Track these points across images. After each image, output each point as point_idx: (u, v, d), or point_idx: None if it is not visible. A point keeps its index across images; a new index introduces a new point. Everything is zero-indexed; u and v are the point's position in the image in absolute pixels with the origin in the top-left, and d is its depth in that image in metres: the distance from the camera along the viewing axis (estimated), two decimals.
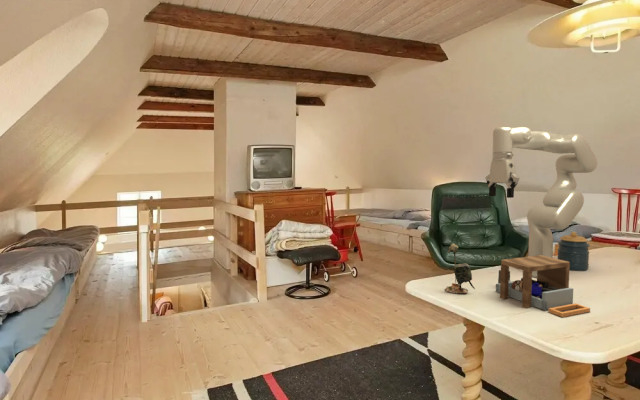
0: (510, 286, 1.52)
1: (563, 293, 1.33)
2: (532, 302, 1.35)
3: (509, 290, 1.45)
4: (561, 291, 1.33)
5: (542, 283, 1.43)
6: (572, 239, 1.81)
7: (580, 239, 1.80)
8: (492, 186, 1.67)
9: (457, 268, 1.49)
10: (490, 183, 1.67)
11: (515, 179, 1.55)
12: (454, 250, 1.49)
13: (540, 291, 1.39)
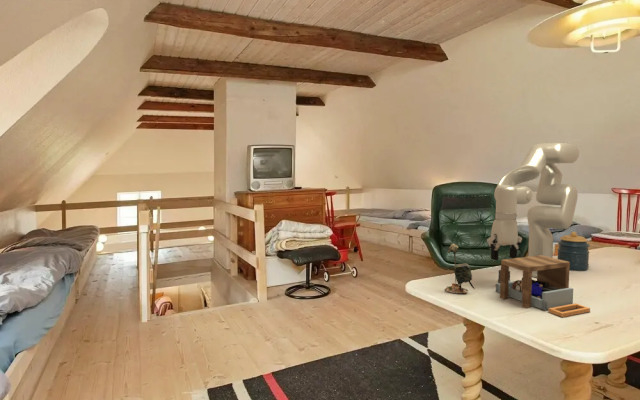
0: (510, 286, 1.52)
1: (563, 293, 1.33)
2: (532, 302, 1.35)
3: (509, 290, 1.45)
4: (561, 291, 1.33)
5: (543, 283, 1.43)
6: (572, 239, 1.81)
7: (580, 239, 1.80)
8: None
9: (457, 268, 1.49)
10: (497, 246, 1.51)
11: (520, 239, 1.56)
12: (454, 250, 1.49)
13: (540, 291, 1.39)
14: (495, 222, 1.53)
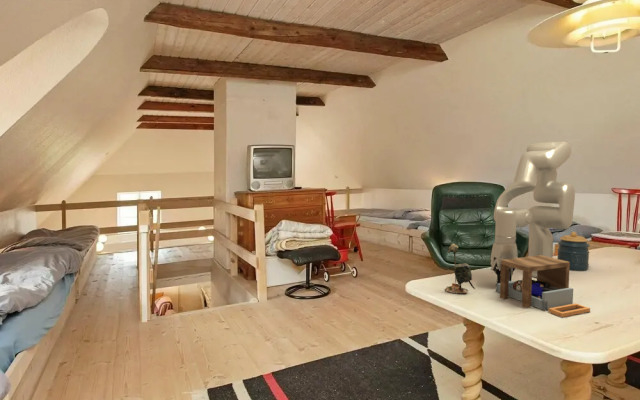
0: (510, 286, 1.52)
1: (563, 293, 1.33)
2: (532, 302, 1.35)
3: (509, 290, 1.45)
4: (561, 291, 1.33)
5: (543, 283, 1.43)
6: (572, 239, 1.81)
7: (580, 239, 1.80)
8: None
9: (457, 268, 1.49)
10: None
11: None
12: (454, 250, 1.49)
13: (541, 291, 1.39)
14: (495, 245, 1.54)
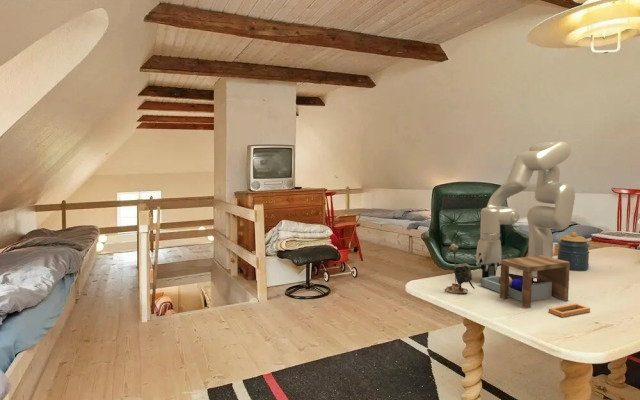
0: (494, 280, 1.60)
1: (542, 286, 1.41)
2: (513, 295, 1.43)
3: (492, 284, 1.53)
4: (540, 284, 1.41)
5: None
6: (572, 239, 1.81)
7: (580, 239, 1.80)
8: None
9: (457, 268, 1.49)
10: (486, 266, 1.61)
11: (500, 262, 1.64)
12: (454, 250, 1.49)
13: None
14: (480, 242, 1.61)
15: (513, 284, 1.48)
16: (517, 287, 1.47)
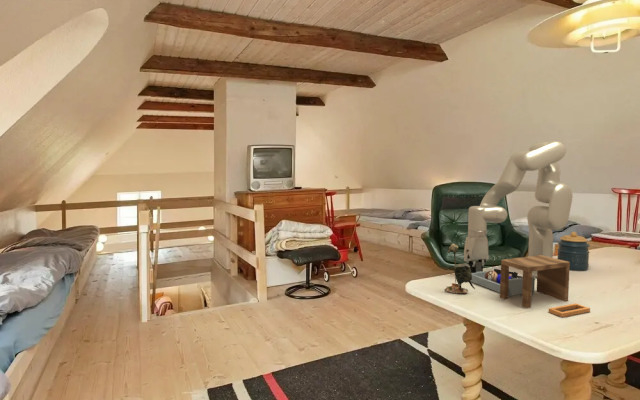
0: (481, 276, 1.67)
1: None
2: (498, 289, 1.50)
3: (479, 279, 1.60)
4: None
5: (512, 273, 1.56)
6: (572, 239, 1.81)
7: (580, 239, 1.80)
8: None
9: (457, 268, 1.49)
10: (474, 262, 1.68)
11: (487, 258, 1.71)
12: (454, 250, 1.49)
13: None
14: (467, 239, 1.68)
15: (498, 279, 1.55)
16: None
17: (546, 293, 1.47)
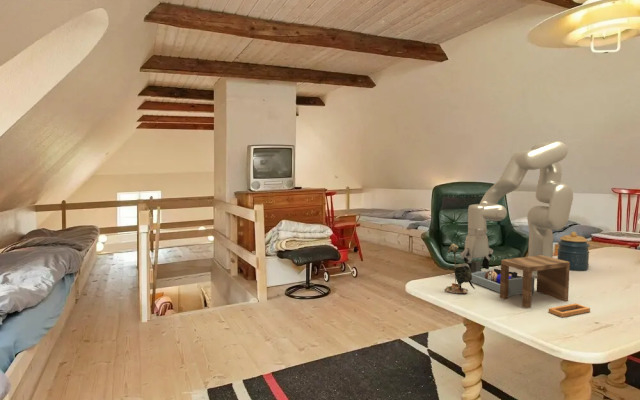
0: (481, 276, 1.67)
1: None
2: (497, 289, 1.50)
3: (479, 279, 1.60)
4: None
5: (512, 273, 1.56)
6: (572, 239, 1.81)
7: (580, 239, 1.80)
8: None
9: (457, 268, 1.49)
10: (470, 259, 1.67)
11: (491, 251, 1.72)
12: (454, 250, 1.49)
13: None
14: (467, 237, 1.69)
15: (498, 279, 1.55)
16: None
17: (546, 293, 1.47)
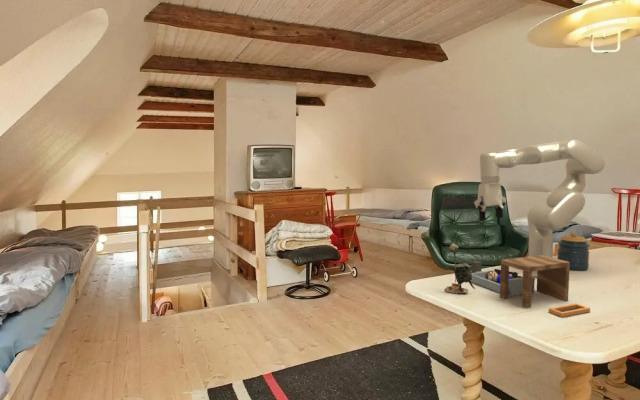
0: (481, 276, 1.67)
1: None
2: (498, 289, 1.50)
3: (479, 279, 1.60)
4: None
5: (512, 273, 1.56)
6: (572, 239, 1.81)
7: (580, 239, 1.80)
8: None
9: (457, 268, 1.49)
10: (484, 207, 1.67)
11: (505, 200, 1.72)
12: (454, 250, 1.49)
13: None
14: (480, 186, 1.68)
15: (498, 279, 1.55)
16: None
17: (546, 293, 1.47)
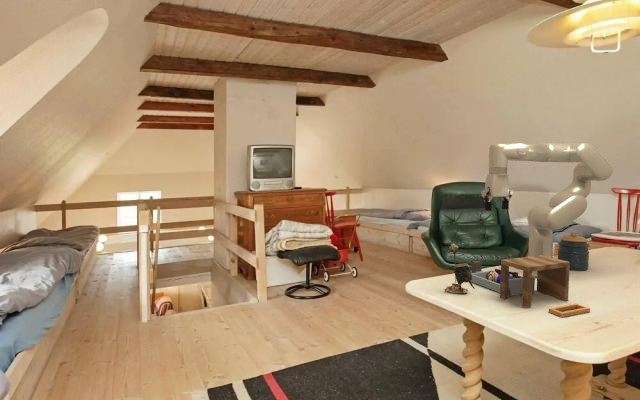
0: (481, 276, 1.67)
1: None
2: (498, 289, 1.50)
3: (479, 279, 1.60)
4: None
5: (513, 273, 1.56)
6: (572, 239, 1.81)
7: (580, 239, 1.80)
8: None
9: (457, 268, 1.49)
10: (491, 198, 1.67)
11: (511, 192, 1.72)
12: (454, 250, 1.49)
13: None
14: (488, 176, 1.69)
15: (499, 279, 1.55)
16: None
17: (546, 293, 1.47)
